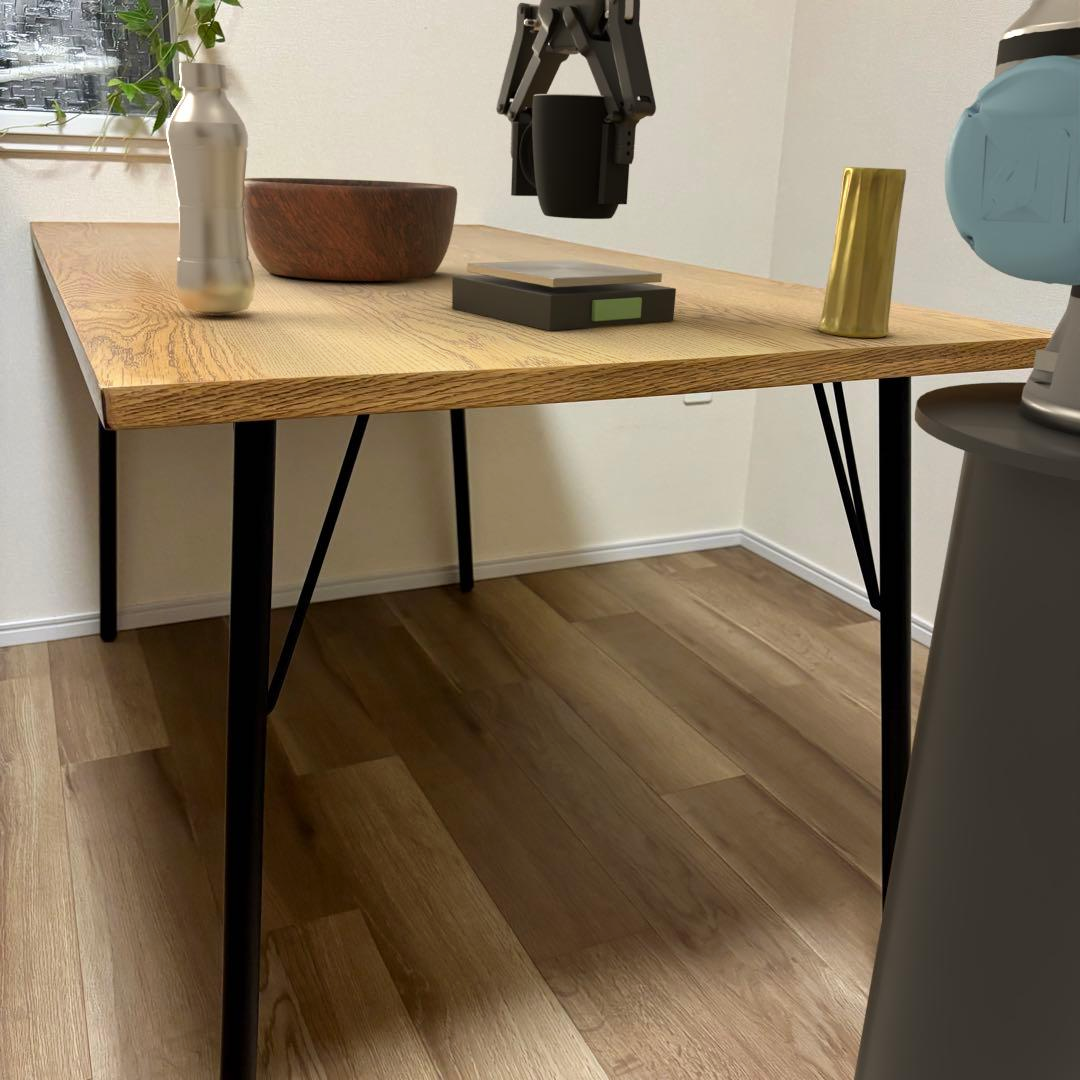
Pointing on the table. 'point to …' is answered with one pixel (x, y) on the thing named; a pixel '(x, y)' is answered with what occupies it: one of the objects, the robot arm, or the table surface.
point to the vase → (864, 253)
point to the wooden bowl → (348, 227)
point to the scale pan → (564, 273)
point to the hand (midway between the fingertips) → (566, 200)
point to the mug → (566, 155)
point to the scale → (563, 303)
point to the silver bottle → (210, 194)
